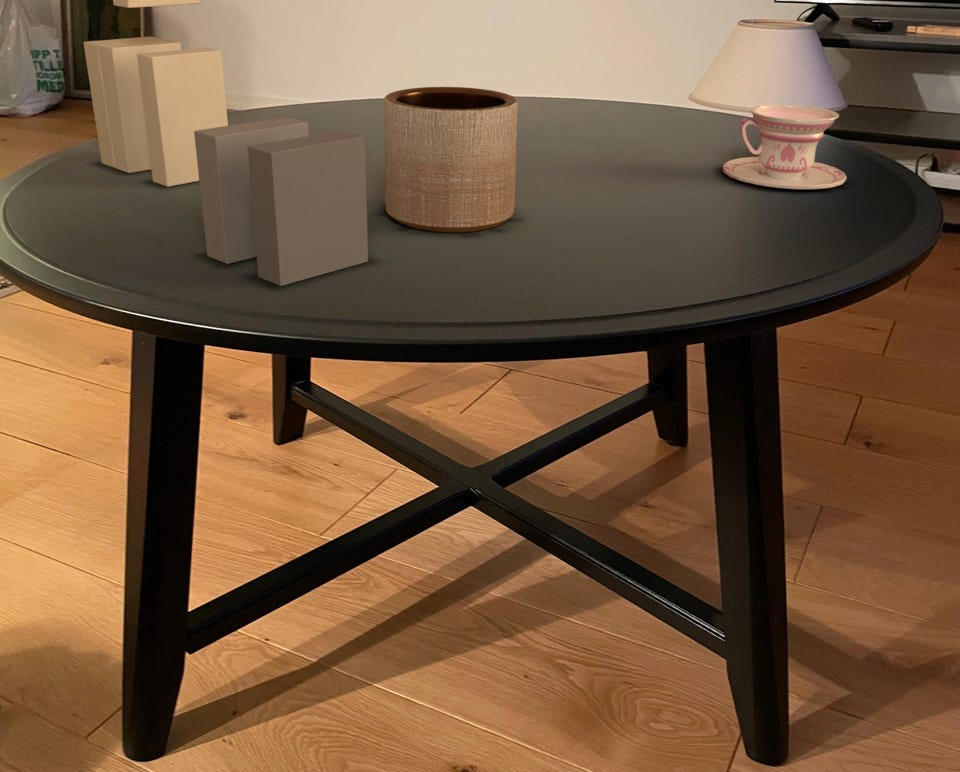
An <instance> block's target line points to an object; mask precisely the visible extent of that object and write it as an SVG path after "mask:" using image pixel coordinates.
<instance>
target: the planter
mask: <svg viewBox="0 0 960 772" xmlns="http://www.w3.org/2000/svg"><path fill="white" fill-rule="evenodd" d="M383 100H384V101H383V102H384V104H383V105H384V107H383V108H384V111H383V112H384V205H385V211H386V214H387V215H388V216H390V217H391V218H392V219H393V220H395V222H397V223H399V224H401V225H402V226H406V227H409V228H413V229H415V230H421V231H427V232H436V233H470V232H479V231H485V230H489V229H493V228H495V227H496V228H497V227H498V226H500V225H502V224H503V223H505V222H507V221H508V220H509V219H510V218H512V216H513V215H514V213H515V205H516V173H517V172H516V171H517V170H516V169H517V135H518V133H517V131H518V111H519V110H518V109H519V108H518V107H519V106H518V105H519V103H518V102H519V101H518V99H517V97H515V96H513V95H512V94H508V93H505V92H501V91H497V90H491V89H486V88H477V87H465V86H464V87H463V86H423V87H413V88H411V87H410V88H404V89H400V90H395V91H392V92H390V93H387V94H386V95H385V96H384V99H383Z"/></svg>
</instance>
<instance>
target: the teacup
mask: <svg viewBox="0 0 960 772" xmlns="http://www.w3.org/2000/svg"><path fill="white" fill-rule="evenodd" d="M749 112H751V114H752V117H753V119H752V118H749V119H748V117H747V116H744V117H743V118H740V119H739V122H740V123H741V125H740V135H741V139H742V141H743V143H744V144H745V146H746V148H747V149H748V151H749V152H750V153H751V154H752V155H755V156H749V157H748V156H747V157H739V158H735V159H731V160H728V161H726V162H724V164H722V172H723V173H724V174H725V175H727V176H728V177H729V178H731V179H735V180H737V181H740V182H744V183H748V184H753V185H756V186H761V187H762V186H763V187H769V188H776V189H786V190H821V189H831V188H832V189H833V188H836V187H839V186H841V185H843V184H844V183H845V182H846V181H847V175H846V173H845V172H844V171H842V170H840V169H839V168H837V167H834V166H831V165H828V164H825V163H821V162H816V161H815V159H816V151H817V147H818V144H819V142H820V141H821V140H822V139H823V138H824V135H825V134H824V132H825V131H826V130H827V129H829V128H830V127H831V126H833V124H834V123H835V121H836V120H837V119H838V118H839V117H840V114H839V112H836V111H833V110H830V109H826V108H822V107H816V106H807V105H797V104H761V105H754V106H752V107H750V108H749ZM749 125H752V126H755V127H756V128H758V129H757V132H758V133H759V136H760V145H759V146H758V147H757V149H754V147H753V145H751V143H750V142H749V139H748V136H747V131H746V129H747V126H749ZM756 155H757V156H756Z"/></svg>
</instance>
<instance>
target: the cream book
mask: <svg viewBox="0 0 960 772" xmlns="http://www.w3.org/2000/svg"><path fill="white" fill-rule="evenodd" d="M112 1H113V2H112V3H113V6H115V7H120V8H121V7H122V8H127V9H134V8H148V7H150V8H151V7H165V6H166V7H167V6H182V5H199V4H200V0H112Z"/></svg>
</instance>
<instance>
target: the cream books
mask: <svg viewBox="0 0 960 772" xmlns="http://www.w3.org/2000/svg"><path fill="white" fill-rule="evenodd" d="M83 48H84V55H85V61H86V68H87V75H88V83H89V88H90V95H91V101H92V108H93V114H94V120H95V127H96V135H97V140H98V147H99V154H100V160H101V164H103V165H105V166H107V167H111V168H113V169H116V170H119V171H122V172H124V173H128V174H133V173H138V172H144V171H149V170H150V171H151V177H152V182H153V183H156V184H158V185H161V186H164V187H167V188H169V187H173V186H180V185H185V184H190V183H195V182H199V174H198V164H197V155H196V145H195V136H194V131H197V130H203V129H210V128H216V127H223V126H229V122H228V111H227V99H226V89H225V80H224V79H225V77H224V67H223V66H224V65H223V55H222V50H220V49H217V48H216V49H215V48H210V47H205V46H204V47H196V48H195V47H194V48H184V49H182V46H181V42H180V41H175V40H170V39H164V38H160V37H156V36H140V37H127V38H116V39H104V40H89V41H83Z"/></svg>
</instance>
